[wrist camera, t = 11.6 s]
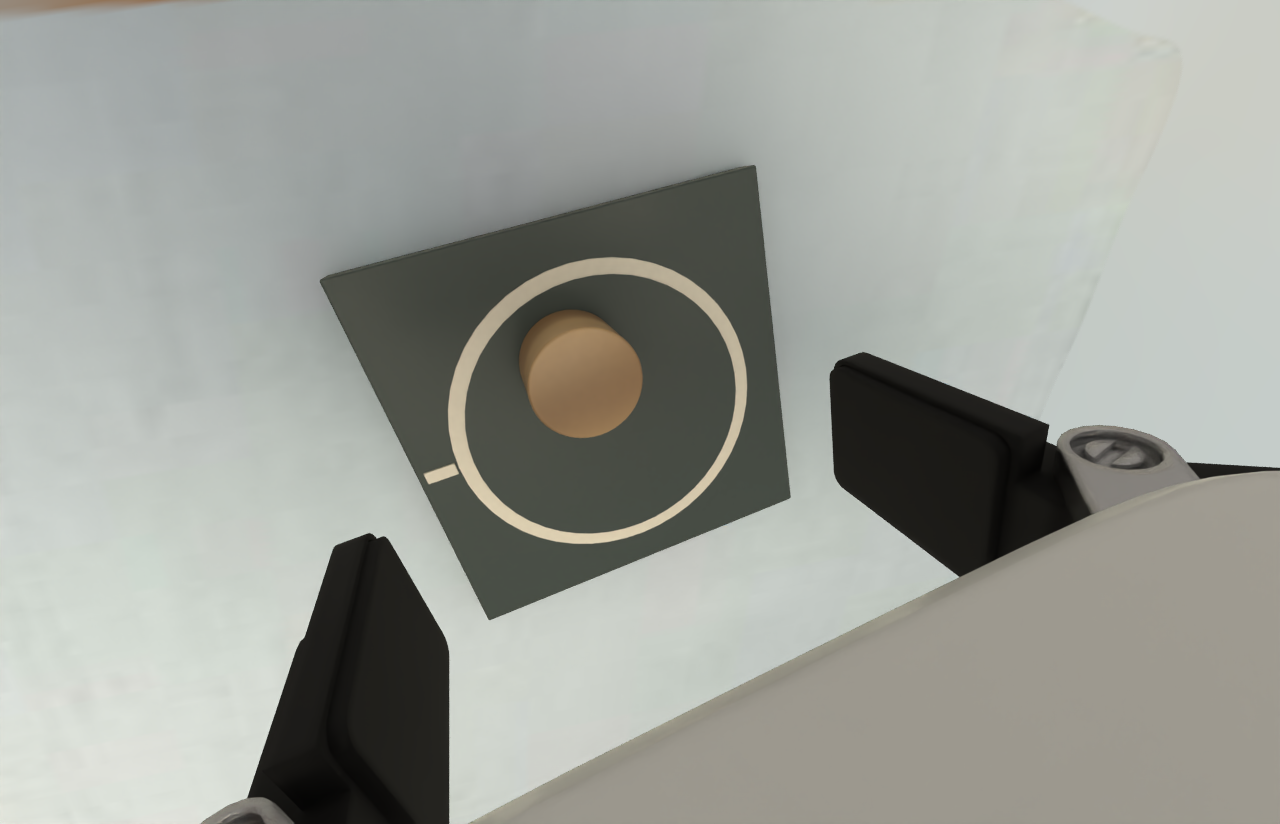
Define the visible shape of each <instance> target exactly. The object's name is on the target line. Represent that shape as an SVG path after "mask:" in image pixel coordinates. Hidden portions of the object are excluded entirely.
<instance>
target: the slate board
mask: <svg viewBox="0 0 1280 824" xmlns="http://www.w3.org/2000/svg"><path fill="white" fill-rule="evenodd" d="M320 283H321V285H322V287H323V289H324V291H325V293H326V295H327V297H328V299H329V301H330V303H331V305H332V307H333V309H334V311H335V313H336V315H337V317H338V319H339V321H340V323H341V325H342V327H343V329H344V331H345V333H346V335H347V337H348V339H349V341H350V343H351V345H352V347H353V349H354V351H355V353H356V355H357V357H358V359H359V361H360V363H361V365H362V367H363V369H364V371H365V373H366V375H367V377H368V379H369V381H370V383H371V385H372V387H373V389H374V391H375V393H376V395H377V397H378V399H379V401H380V403H381V405H382V407H383V409H384V411H385V413H386V415H387V417H388V419H389V421H390V423H391V425H392V427H393V429H394V431H395V433H396V435H397V437H398V439H399V441H400V443H401V445H402V447H403V449H404V451H405V453H406V455H407V457H408V459H409V461H410V463H411V465H412V467H413V469H414V471H415V473H416V475H417V477H418V479H419V481H420V483H421V485H422V487H423V489H424V491H425V493H426V495H427V497H428V499H429V501H430V503H431V505H432V507H433V509H434V511H435V513H436V515H437V517H438V519H439V521H440V523H441V525H442V527H443V529H444V531H445V533H446V535H447V537H448V539H449V541H450V543H451V545H452V547H453V549H454V551H455V553H456V555H457V557H458V559H459V561H460V563H461V565H462V567H463V569H464V571H465V573H466V575H467V577H468V579H469V581H470V583H471V585H472V587H473V589H474V591H475V593H476V595H477V597H478V599H479V601H480V603H481V605H482V607H483V609H484V611H485V613H486V615H487V617H488V619H489V620H492V619H494V618H496V617H499V616H501V615H504V614H506V613H509V612H511V611H514V610H516V609H519V608H521V607H524V606H526V605H528V604H531V603H533V602H536V601H538V600H541V599H543V598H546V597H548V596H551V595H553V594H556V593H558V592H560V591H563V590H565V589H568V588H570V587H573V586H575V585H578V584H580V583H583V582H585V581H588V580H590V579H593V578H595V577H597V576H600V575H602V574H605V573H607V572H610V571H612V570H615V569H617V568H620V567H622V566H625V565H627V564H629V563H632V562H634V561H637V560H639V559H642V558H644V557H647V556H649V555H652V554H654V553H657V552H659V551H661V550H664V549H666V548H669V547H671V546H674V545H676V544H679V543H681V542H684V541H686V540H689V539H691V538H693V537H696V536H698V535H701V534H703V533H706V532H708V531H711V530H713V529H716V528H718V527H721V526H723V525H725V524H728V523H730V522H733V521H735V520H738V519H740V518H743V517H745V516H748V515H750V514H753V513H755V512H757V511H760V510H762V509H765V508H767V507H770V506H772V505H775V504H777V503H780V502H782V501H785V500H787V499H789V498H790V487H789V478H788V468H787V459H786V449H785V440H784V430H783V420H782V411H781V401H780V392H779V382H778V373H777V363H776V354H775V344H774V335H773V325H772V316H771V306H770V297H769V287H768V278H767V268H766V259H765V249H764V240H763V230H762V221H761V211H760V202H759V192H758V183H757V173H756V166H754V165H752V166H743V167H739V168H735V169H731V170H728V171H724V172H720V173H716V174H712V175H709V176H705V177H701V178H697V179H693V180H689V181H686V182H682V183H678V184H674V185H670V186H667V187H663V188H659V189H655V190H651V191H648V192H644V193H640V194H636V195H632V196H629V197H625V198H621V199H617V200H613V201H610V202H606V203H602V204H598V205H594V206H590V207H587V208H583V209H579V210H575V211H571V212H568V213H564V214H560V215H556V216H552V217H549V218H545V219H541V220H537V221H533V222H530V223H526V224H522V225H518V226H514V227H511V228H507V229H503V230H499V231H495V232H491V233H488V234H484V235H480V236H476V237H472V238H469V239H465V240H461V241H457V242H453V243H450V244H446V245H442V246H438V247H434V248H431V249H427V250H423V251H419V252H415V253H412V254H408V255H404V256H400V257H396V258H392V259H389V260H385V261H381V262H377V263H373V264H370V265H366V266H362V267H358V268H354V269H351V270H347V271H343V272H339V273H335V274H332V275H328V276H326V277H324V278H323V279H321V280H320ZM562 310H581V311H586V312H589V313H592V314H594V315H596V316H598V317H599V318H601V319H602V320H603V321H604V322H606V323H607V324H608V325H609V326H610V327H611V328H612V329H614V330H615V331H616V332H617V333H618V334H619V335H620V336H621V337H623V338H624V339H625V340H626V341H627V342H628V343H629V344H630V345H631V346H632V348H633V349H634V351H635V352H636V354H637V356H638V358H639V360H640V364H641V367H642V374H643V382H642V389H641V394H640V397H639V400H638V402H637V404H636V406H635V408H634V409H633V411H632V412H631V414H630V415H629V416H628V417H627V418H626V419H625V420H624V421H623V422H622V423H621V424H620V425H618V426H617V427H616V428H614V429H612V430H611V431H609V432H607V433H604V434H602V435H598V436H595V437H589V438H574V437H569V436H565V435H562V434H559V433H557V432H555V431H553V430H551V429H550V428H548V427H547V426H546V425H545V424H544V423H542V422H541V421H540V419H539V418H538V417H537V416H536V414H535V412H534V411H533V409H532V406H531V404H530V401H529V398H528V395H527V392H526V389H525V386H524V383H523V380H522V377H521V374H520V369H519V353H520V349H521V345H522V343H523V340H524V338H525V336H526V335H527V333H528V332H529V330H530V329H531V328H532V327H533V326H534V325H535V324H536V323H537V322H538V321H540V320H541V319H542V318H544V317H546V316H548V315H549V314H552V313H555V312H558V311H562Z"/></svg>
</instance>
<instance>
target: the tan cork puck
mask: <svg viewBox="0 0 1280 824" xmlns="http://www.w3.org/2000/svg"><path fill="white" fill-rule="evenodd" d="M519 369H520V374H521V377H522V380H523V383H524V386H525V389H526V392H527V395H528V398H529V401H530V404H531V406H532V409H533V411H534V412H535V414H536V416H537V417H538V418H539V419H540V421H541V422H542V423H544V424H545V425H546V426H547V427H548V428H550V429H551V430H553V431H555V432H557V433H559V434H562V435H565V436H569V437H574V438H589V437H595V436H598V435H602V434H604V433H607V432H609V431H611V430H612V429H614V428H616V427H617V426H618V425H620V424H621V423H622V422H623V421H624V420H625V419H626V418H627V417H628V416H629V415H630V414H631V412H632V411H633V409H634V408H635V406H636V404H637V402H638V400H639V397H640V394H641V389H642V382H643V374H642V367H641V364H640V360H639V358H638V356H637V354H636V352H635V351H634V349H633V348H632V346H631V345H630V344H629V343H628V342H627V341H626V340H625V339H624V338H623V337H621V336H620V335H619V334H618V333H617V332H616V331H615V330H614V329H612V328H611V327H610V326H609V325H608V324H607V323H606V322H604V321H603V320H602V319H601V318H599V317H598V316H596V315H594V314H592V313H589V312H586V311H581V310H562V311H558V312H555V313H552V314H549V315H548V316H546V317H544V318H542V319H541V320H540V321H538V322H537V323H536V324H535V325H534V326H533V327H532V328H531V329H530V330H529V332H528V333H527V335H526V336H525V338H524V340H523V343H522V345H521V349H520V353H519Z"/></svg>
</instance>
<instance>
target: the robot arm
mask: <svg viewBox="0 0 1280 824" xmlns="http://www.w3.org/2000/svg"><path fill="white" fill-rule="evenodd" d="M830 398H831V420H832V441H833V462H834V475H835V477H836V480H837V482H838V483H839V484H840V486H841V487H842V488H844V489H845V490H846V491H847V492H849V493H850V494H851V495H853V496H854V497H855V498H857V499H858V500H859V501H861V502H862V503H863V504H865V505H866V506H867V507H868V508H870V509H871V510H872V511H874V512H875V513H876V514H878V515H879V516H880V517H882V518H883V519H884V520H886V521H887V522H888V523H890V524H891V525H892V526H893V527H895V528H896V529H897V530H899V531H900V532H901V533H903V534H904V535H905V536H907V537H908V538H909V539H911V540H912V541H913V542H914V543H916V544H917V545H918V546H920V547H921V548H922V549H924V550H925V551H926V552H928V553H929V554H930V555H932V556H933V557H934V558H935V559H937V560H938V561H939V562H941V563H942V564H943V565H945V566H946V567H947V568H949V569H950V570H951V571H953V572H954V573H955V574H956V575H958V576H959V578H957V579H955V580H953V581H951V582H949V583H947V584H945V585H943V586H941V587H939V588H937V589H935V590H933V591H930V592H928V593H926V594H924V595H922V596H920V597H918V598H916V599H914V600H912V601H910V602H908V603H906V604H904V605H902V606H900V607H898V608H896V609H894V610H891V611H889V612H887V613H885V614H883V615H881V616H879V617H877V618H875V619H873V620H871V621H869V622H867V623H865V624H863V625H861V626H859V627H857V628H855V629H853V630H851V631H849V632H847V633H845V634H843V635H841V636H839V637H837V638H835V639H833V640H831V641H829V642H827V643H825V644H823V645H821V646H818V647H816V648H814V649H812V650H810V651H808V652H806V653H804V654H802V655H800V656H798V657H796V658H794V659H792V660H790V661H788V662H786V663H784V664H782V665H780V666H778V667H776V668H774V669H772V670H770V671H768V672H766V673H764V674H762V675H760V676H758V677H756V678H754V679H752V680H750V681H748V682H746V683H744V684H742V685H740V686H738V687H736V688H734V689H732V690H730V691H728V692H726V693H724V694H722V695H720V696H718V697H716V698H714V699H712V700H710V701H708V702H706V703H704V704H702V705H700V706H698V707H696V708H694V709H692V710H690V711H688V712H686V713H684V714H682V715H680V716H678V717H676V718H674V719H672V720H670V721H668V722H666V723H664V724H662V725H660V726H658V727H656V728H654V729H652V730H650V731H648V732H646V733H644V734H642V735H640V736H638V737H636V738H634V739H632V740H630V741H628V742H626V743H624V744H622V745H620V746H618V747H616V748H614V749H612V750H610V751H608V752H606V753H604V754H602V755H600V756H598V757H596V758H594V759H592V760H590V761H588V762H586V763H584V764H582V765H580V766H578V767H576V768H574V769H572V770H570V771H568V772H566V773H564V774H562V775H560V776H558V777H557V778H555V779H553V780H551V781H549V782H547V783H545V784H543V785H541V786H539V787H537V788H535V789H534V790H532V791H530V792H528V793H526V794H524V795H522V796H520V797H518V798H516V799H514V800H512V801H511V802H509V803H507V804H505V805H503V806H501V807H499V808H497V809H495V810H493V811H491V812H489V813H488V814H486V815H484V816H482V817H480V818H478V819H476V820H474V821H472V822H470V823H468V824H1280V468H1272V467H1255V466H1238V465H1221V464H1204V463H1186V462H1185V461H1184V459H1183V458H1182V457H1181V456H1180V455H1179V454H1178V453H1177V451H1176V450H1175V449H1173V448H1172V447H1171V446H1170V445H1169V444H1168V443H1166V442H1165V441H1163V440H1161V439H1159V438H1157V437H1155V436H1152V435H1150V434H1147V433H1144V432H1140V431H1137V430H1134V429H1128V428H1123V427H1116V426H1103V425H1095V426H1083V427H1078V428H1074V429H1070V430H1068V431H1067V432H1065V433H1063V434H1061V436H1060V438H1059V439H1058V441H1057V446H1055V445H1053V444H1050V443H1048V442H1046V440H1047V435H1048V429H1049V425H1048V424H1046V423H1043V422H1041V421H1038V420H1036V419H1033V418H1031V417H1028V416H1026V415H1023V414H1021V413H1018V412H1015V411H1013V410H1010V409H1008V408H1005V407H1003V406H1000V405H998V404H995V403H993V402H990V401H988V400H985V399H983V398H980V397H977V396H975V395H972V394H970V393H967V392H965V391H962V390H960V389H957V388H955V387H952V386H950V385H947V384H944V383H942V382H939V381H937V380H934V379H932V378H929V377H927V376H924V375H922V374H919V373H917V372H914V371H912V370H909V369H906V368H904V367H901V366H899V365H896V364H894V363H891V362H889V361H886V360H884V359H881V358H879V357H876V356H873V355H871V354H868V353H865V352H862V353H858V354H855V355H853V356H850V357H847V358H845V359H842V360H839V361H838V362H837V363H836V364H835V367H834V370H832V371H831V373H830ZM201 824H449V650H448V645H447V642H446V639H445V636H444V634H443V633H442V631H441V629H440V627H439V626H438V624H437V622H436V621H435V619H434V617H433V615H432V614H431V612H430V610H429V608H428V607H427V605H426V603H425V602H424V600H423V598H422V596H421V595H420V593H419V591H418V589H417V588H416V586H415V584H414V583H413V581H412V579H411V577H410V576H409V574H408V572H407V570H406V569H405V567H404V565H403V564H402V562H401V560H400V558H399V557H398V555H397V553H396V551H395V550H394V548H393V546H392V545H391V543H390V541H389V540H388V539H387V538H386V537H384V536H383V537H380V538H378V539H376V537H375V536H374V535H373V534H370V533H368V534H365V535H363V536H360V537H357V538H354V539H352V540H349V541H346V542H344V543H341V544H338V545H336V546H335V547H334V549H333V551H332V554H331V557H330V560H329V563H328V567H327V570H326V573H325V576H324V579H323V582H322V585H321V588H320V591H319V595H318V598H317V601H316V604H315V607H314V610H313V613H312V616H311V619H310V622H309V626H308V629H307V632H306V635H305V638H304V639H303V640H301V641H300V643H299V645H298V647H297V649H296V652H295V655H294V658H293V661H292V665H291V668H290V671H289V674H288V677H287V680H286V683H285V686H284V689H283V692H282V695H281V698H280V701H279V704H278V707H277V710H276V713H275V716H274V719H273V722H272V725H271V728H270V731H269V734H268V737H267V740H266V743H265V746H264V749H263V752H262V755H261V758H260V761H259V764H258V767H257V770H256V773H255V776H254V779H253V782H252V785H251V788H250V791H249V794H248V797H247V798H246V799H244V800H241V801H238V802H236V803H233V804H230V805H228V806H226V807H225V808H223V809H221V810H220V811H218V812H217V813H215V814H213V815H212V816H210V817H209V818H207V819H206V820H204V821H203V822H202V823H201Z"/></svg>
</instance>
